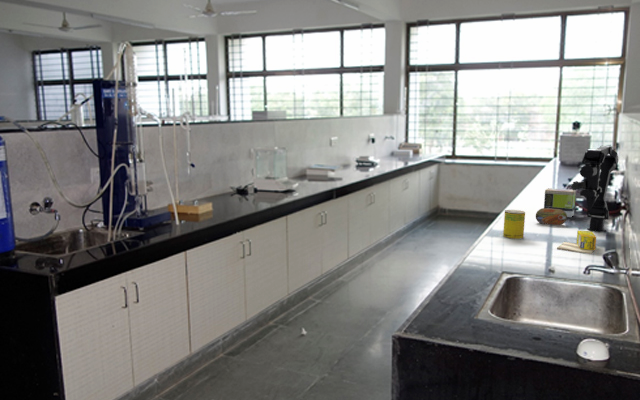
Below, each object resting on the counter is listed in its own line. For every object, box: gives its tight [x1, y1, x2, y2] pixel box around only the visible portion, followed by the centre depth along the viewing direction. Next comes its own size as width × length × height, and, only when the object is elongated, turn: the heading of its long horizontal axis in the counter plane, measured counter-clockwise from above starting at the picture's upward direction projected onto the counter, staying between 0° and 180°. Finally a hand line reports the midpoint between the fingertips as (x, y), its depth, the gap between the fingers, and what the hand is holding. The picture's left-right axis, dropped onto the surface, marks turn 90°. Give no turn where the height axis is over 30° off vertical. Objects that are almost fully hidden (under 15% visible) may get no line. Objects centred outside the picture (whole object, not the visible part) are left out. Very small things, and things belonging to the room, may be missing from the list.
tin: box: [535, 207, 568, 226], centre depth 272 cm, size 15×3×8 cm, turn 68°
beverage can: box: [502, 209, 526, 240], centre depth 244 cm, size 9×9×12 cm
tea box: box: [543, 188, 577, 218], centre depth 295 cm, size 15×10×15 cm, turn 58°
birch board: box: [556, 241, 597, 255], centre depth 224 cm, size 13×13×1 cm
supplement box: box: [576, 230, 597, 251], centre depth 224 cm, size 6×6×11 cm
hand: (589, 209), depth 245 cm, fingers closed
